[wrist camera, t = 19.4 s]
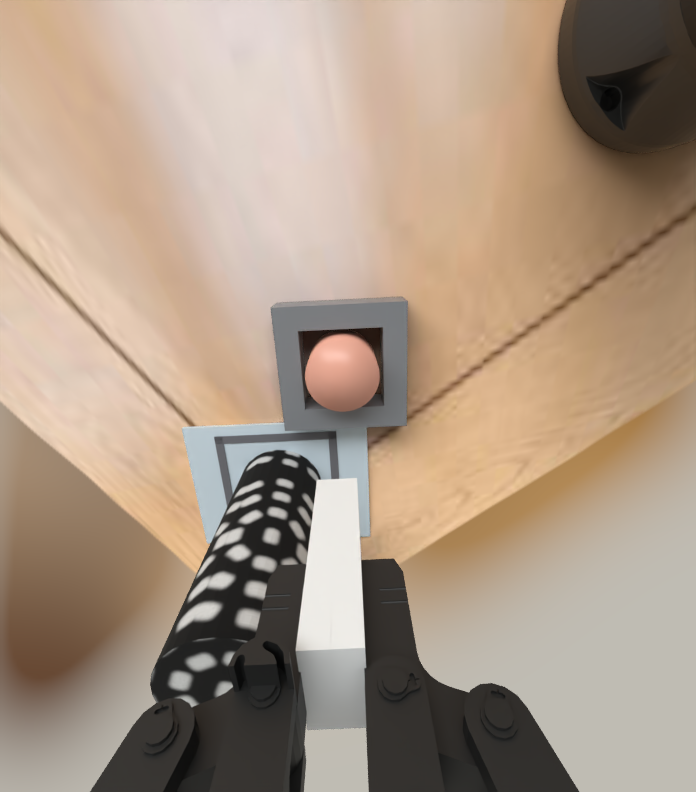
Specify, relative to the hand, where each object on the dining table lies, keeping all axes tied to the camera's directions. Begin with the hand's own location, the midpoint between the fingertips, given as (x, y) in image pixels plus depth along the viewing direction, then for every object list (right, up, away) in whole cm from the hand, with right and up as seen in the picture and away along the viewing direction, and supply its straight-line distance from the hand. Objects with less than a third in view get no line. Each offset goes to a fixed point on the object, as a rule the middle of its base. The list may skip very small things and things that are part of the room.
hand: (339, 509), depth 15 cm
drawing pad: (-7, -5, +26) cm, 27 cm away
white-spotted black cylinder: (-7, -5, +26) cm, 27 cm away
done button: (0, +7, +21) cm, 22 cm away
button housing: (0, +8, +21) cm, 22 cm away
